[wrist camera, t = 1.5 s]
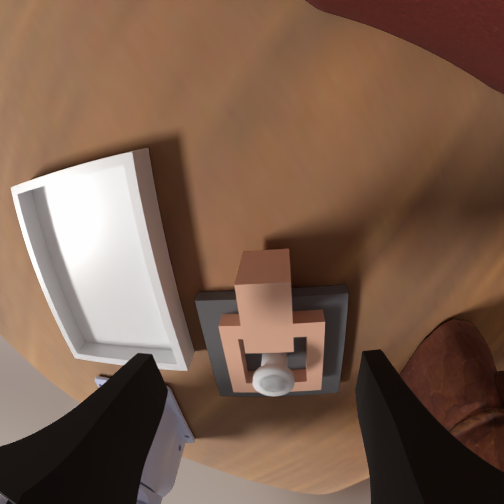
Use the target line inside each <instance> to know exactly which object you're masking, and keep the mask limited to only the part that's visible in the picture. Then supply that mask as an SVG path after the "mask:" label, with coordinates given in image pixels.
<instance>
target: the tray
mask: <svg viewBox="0 0 504 504" xmlns="http://www.w3.org/2000/svg"><path fill="white" fill-rule="evenodd" d="M11 191H12V195H13V200H14V204H15V208H16V212H17V216H18V219H19V223H20V226H21V230H22V233H23V237H24V240H25V243H26V246H27V249H28V252H29V255H30V258H31V261H32V264H33V267H34V269H35V272H36V275H37V277H38V280H39V283H40V285H41V288H42V290H43V293H44V295H45V297H46V300H47V302H48V304H49V307H50V309H51V311H52V313H53V315H54V318H55V320H56V322H57V324H58V326H59V328H60V330H61V332H62V334H63V336H64V338H65V340H66V342H67V344H68V346H69V348H70V350H71V352H72V353H73V355H74V357H75V358H77V359H83V360H89V361H95V362H102V363H109V364H117V365H125V364H126V363H127V362H128V361H129V360H130V359H131V358H132V357H133V356H135V355H136V354H137V353H146V354H152V355H153V357H154V360H155V362H156V364H157V366H158V369H166V370H181V371H188V369H189V366H190V364H191V361H192V358H193V355H194V352H195V351H194V348H193V345H192V341H191V338H190V334H189V331H188V327H187V324H186V320H185V317H184V313H183V309H182V305H181V302H180V298H179V294H178V290H177V286H176V282H175V278H174V274H173V270H172V266H171V262H170V257H169V253H168V249H167V244H166V240H165V235H164V230H163V226H162V221H161V216H160V211H159V206H158V201H157V195H156V190H155V184H154V179H153V173H152V167H151V161H150V155H149V148H144V149H139V150H135V151H130V152H126V153H121V154H117V155H113V156H109V157H105V158H101V159H97V160H94V161H90V162H86V163H83V164H79V165H76V166H72V167H69V168H65V169H62V170H59V171H56V172H53V173H49V174H46V175H43V176H40V177H37V178H34V179H32V180H29V181H26V182H24V183H21V184H18V185H16V186H13V187H11Z"/></svg>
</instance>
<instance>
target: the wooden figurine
mask: <svg viewBox="0 0 504 504" xmlns="http://www.w3.org/2000/svg"><path fill="white" fill-rule="evenodd" d="M400 376H401V378H402V379H403V380H404V382H405V383H406V384H407V386H408V387H409V388H410V389H411V390H412V392H413V393H414V394H415V395H416V397H417V398H418V399H419V400H420V401H421V403H422V404H423V405H424V406H425V407H426V408H427V409H428V411H429V412H430V413H431V414H432V415H433V416H434V417H435V418H436V419H437V420H438V421H439V422H440V423H441V424H442V425H443V426H444V427H445V428H446V429H447V430H448V431H449V432H450V433H451V434H452V435H453V436H454V437H455V438H457V439H458V440H459V441H460V442H461V443H462V444H464V445H465V446H466V447H467V448H469V449H470V450H471V451H473V452H474V453H475V454H477V455H478V456H479V457H481V458H482V459H483V460H485V461H486V462H488V463H489V464H491V465H493V466H494V467H496V468H497V469H499V470H501V471H502V472H504V371H499V372H497V370H496V367H495V364H494V361H493V357H492V354H491V351H490V349H489V347H488V345H487V343H486V342H485V340H484V338H483V337H482V335H481V334H480V332H479V330H478V329H477V328H476V327H475V326H474V325H473V324H472V323H469V322H467V321H463V320H456V319H453V320H450V321H448V322H446V323H444V324H442V325H441V326H439V327H438V328H437V329H436V330H435V331H433V332H432V333H431V334H430V335H429V336H428V337H427V338H426V339H425V340H423V341H422V343H421V344H420V345H419V346H418V348H417V349H416V351H415V352H414V354H413V355H412V357H411V358H410V360H409V361H408V362H407V364H406V366H405V368H404V369H403V370H402V372H401V373H400Z"/></svg>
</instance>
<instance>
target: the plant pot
mask: <svg viewBox="0 0 504 504" xmlns="http://www.w3.org/2000/svg"><path fill="white" fill-rule="evenodd" d="M305 1H307V2H308V3H310V4H311V5H313V6H314V7H315V8H317V9H319V10H321V11H324V12H327V13H331V14H334V15H338V16H341V17H344V18H348V19H351V20H354V21H357V22H360V23H363V24H366V25H369V26H372V27H375V28H377V29H380V30H383V31H385V32H388V33H390V34H392V35H395V36H397V37H400V38H402V39H404V40H406V41H409V42H411V43H413V44H415V45H417V46H419V47H422V48H424V49H426V50H428V51H430V52H432V53H434V54H436V55H438V56H439V57H441V58H443V59H445V60H447V61H449V62H451V63H452V64H454V65H456V66H458V67H459V68H461V69H463V70H464V71H466V72H468V73H469V74H471V75H473V76H474V77H476V78H477V79H479V80H480V81H482V82H483V83H485V84H486V85H488V86H489V87H491V88H493V89H495V90H497V91H499V92H501V93H503V94H504V0H305Z"/></svg>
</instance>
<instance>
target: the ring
mask: <svg viewBox="0 0 504 504" xmlns="http://www.w3.org/2000/svg"><path fill="white" fill-rule="evenodd" d="M234 286H235V292H236V299H237V305H238V311H239V314H222V315H221V319H220V322H219V326H218V327H219V331H220V336H221V341H222V345H223V350H224V354H225V358H226V363H227V367H228V371H229V376H230V380H231V384H232V388H233V392H258V391H256V390H255V388H254V387H253V383H252V382H253V374H254V372H255V371H248V369H247V363H246V357H245V353H281V352H294V342H293V337H306V369H295V370H292V371H293V373H294V379H295V384H294V387H293V389H292V390H291V391H290V392H294V391H312V390H321V385H322V372H323V356H324V337H325V318H324V313H323V309H322V310H307V311H292V293H291V273H290V256H289V249H275V250H258V251H244V252H243V255H242V259H241V263H240V266H239V270H238V273H237V277H236V281H235V284H234ZM243 342H244V345H243ZM244 348H245V351H244Z"/></svg>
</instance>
